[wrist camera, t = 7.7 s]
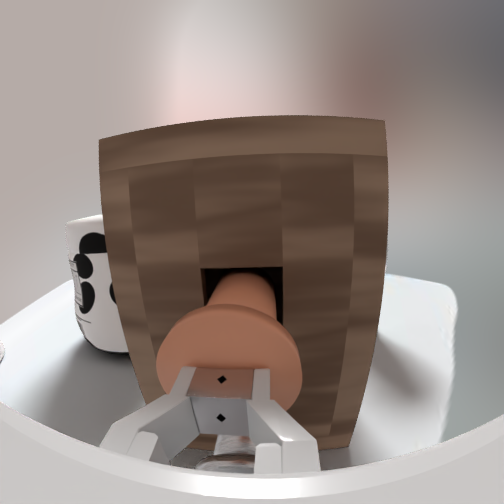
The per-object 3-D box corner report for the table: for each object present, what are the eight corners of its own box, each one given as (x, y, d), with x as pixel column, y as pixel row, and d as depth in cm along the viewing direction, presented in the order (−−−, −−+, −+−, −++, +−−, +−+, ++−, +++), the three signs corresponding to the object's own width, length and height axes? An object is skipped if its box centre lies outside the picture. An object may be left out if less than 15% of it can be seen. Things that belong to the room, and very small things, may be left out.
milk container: (203, 312, 46) (194, 205, 42) (169, 374, 30) (143, 219, 25) (118, 307, 48) (103, 212, 44) (64, 353, 31) (33, 229, 27)
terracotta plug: (298, 426, 9) (305, 315, 8) (172, 421, 10) (142, 314, 9) (287, 328, 18) (287, 250, 16) (208, 328, 18) (200, 252, 17)
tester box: (348, 446, 18) (384, 120, 12) (162, 443, 19) (98, 139, 13) (330, 378, 28) (340, 143, 22) (187, 379, 29) (159, 153, 23)
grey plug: (289, 506, 11) (294, 468, 10) (201, 502, 11) (182, 463, 10) (285, 415, 19) (287, 366, 18) (220, 414, 19) (212, 366, 18)
